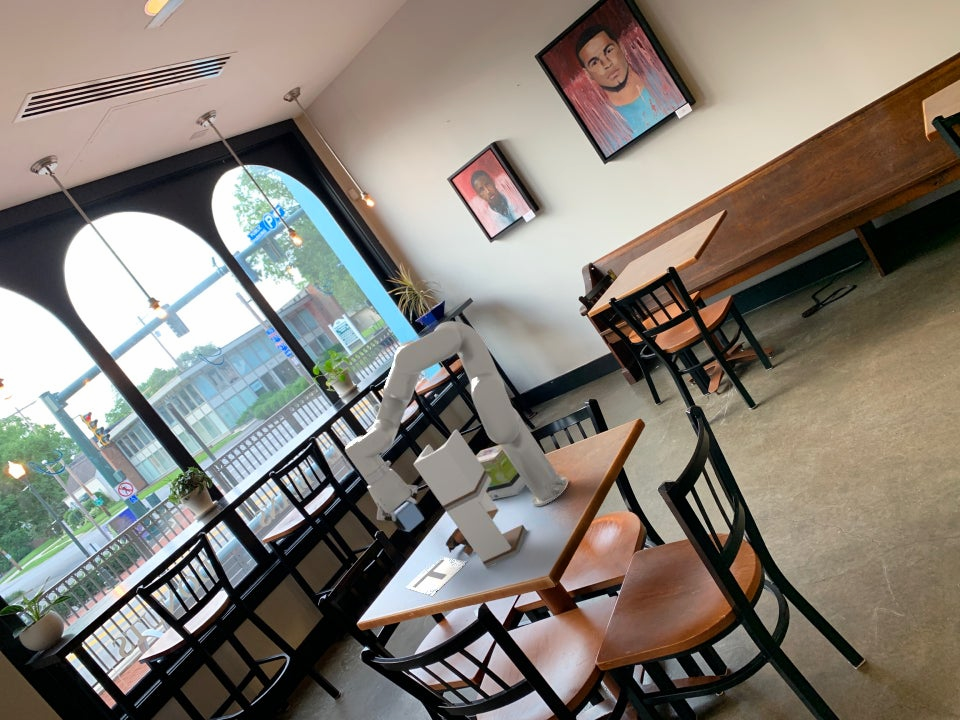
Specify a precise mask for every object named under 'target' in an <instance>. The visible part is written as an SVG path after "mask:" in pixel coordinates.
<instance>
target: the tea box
mask: <svg viewBox="0 0 960 720" xmlns="http://www.w3.org/2000/svg"><path fill="white" fill-rule="evenodd" d="M475 456H476V458H477V459H478V460H479V462H480V463H481V465H482V466H483V468H484V469H485V471H486V472H487V474H488V475H489V476H490V478H491V479H492V480H491V482H490V484H489V486H488V488H487V490H486V492H487V494H488V495H489V497H490V498H491V499H492V501H494V500H496V499H502V498H503V499H504V498H507V497H512V496H518V495H520V493H521V492H522V490H523V489H524V488H525V487H526V486H527V485H526V484H525V482H524V481H523V479H522V478H521V476H520V475H519V473H518V472H517V470H516V469H515V467H514V466H513V464H512V463H511V462H510V460H509V458H508V457H507V455H506V454H505V452H504V451H503V449H502V448H501V446H500V445H499V444H497V445H495V446H492V447H488V448H485V449H482V450H480V451H479V452H478V453H477V454H476V455H475Z"/></svg>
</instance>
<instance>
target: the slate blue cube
mask: <svg viewBox="0 0 960 720" xmlns="http://www.w3.org/2000/svg"><path fill="white" fill-rule="evenodd" d="M394 512H395V516H396V518H397V519H399V520H400V522H401V523H402V524H403V526H404V527H405V530H404V531H403V532H408V533H411V531H412V530H414V528H416V527H417V526H418V525H419V524H421V523H422V521H424V520H425V518H424V516H423V513H422V512H421V513H422V514H421V513H420V512H419V510H418V509H417V507H416V506H415V505H414V503H411V502H408V501H405V502H403V503H402V504H401V505H400V506H399V507H397V508H396V509H395V510H394Z"/></svg>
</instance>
